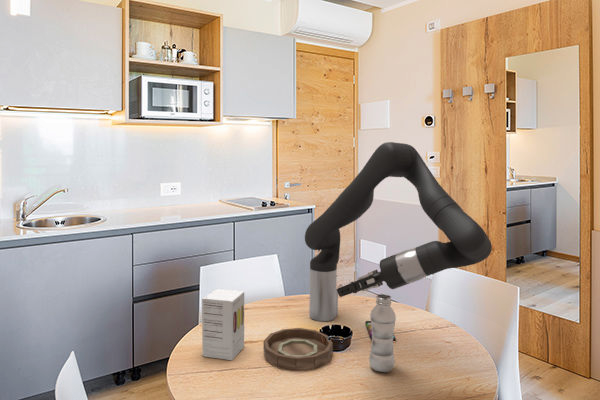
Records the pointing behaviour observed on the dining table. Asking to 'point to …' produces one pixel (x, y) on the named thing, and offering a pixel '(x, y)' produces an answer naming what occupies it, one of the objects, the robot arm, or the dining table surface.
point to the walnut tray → (297, 349)
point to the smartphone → (369, 328)
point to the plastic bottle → (382, 334)
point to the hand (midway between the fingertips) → (344, 290)
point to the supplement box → (223, 324)
